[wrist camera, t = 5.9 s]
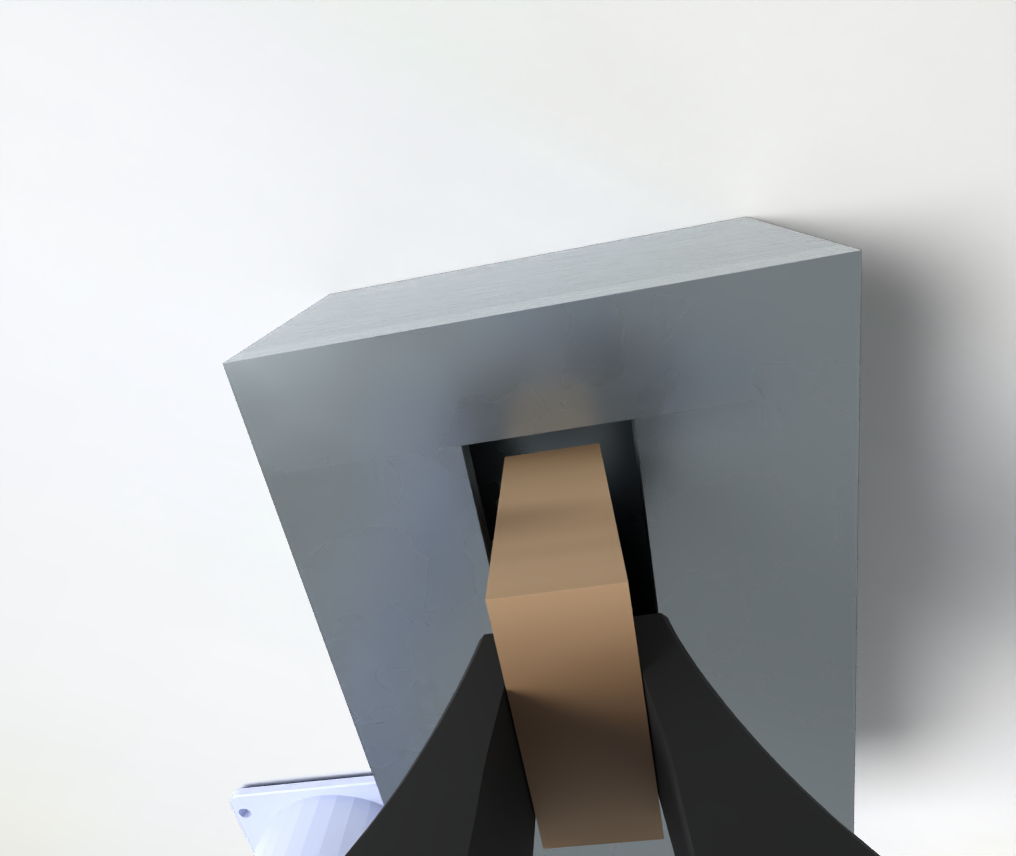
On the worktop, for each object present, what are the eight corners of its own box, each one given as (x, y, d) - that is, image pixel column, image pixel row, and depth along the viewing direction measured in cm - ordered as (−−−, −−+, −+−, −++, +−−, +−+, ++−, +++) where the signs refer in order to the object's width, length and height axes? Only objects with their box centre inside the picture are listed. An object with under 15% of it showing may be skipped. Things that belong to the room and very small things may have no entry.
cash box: (770, 710, 25) (852, 908, 18) (459, 743, 26) (432, 937, 19) (745, 216, 18) (861, 250, 11) (329, 294, 19) (222, 363, 13)
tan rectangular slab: (627, 637, 15) (664, 839, 11) (543, 647, 16) (543, 848, 11) (599, 442, 14) (627, 581, 9) (504, 456, 14) (485, 599, 9)
